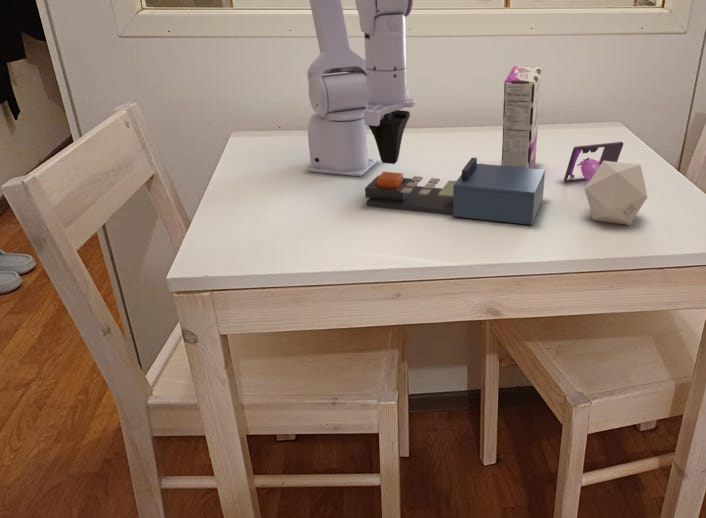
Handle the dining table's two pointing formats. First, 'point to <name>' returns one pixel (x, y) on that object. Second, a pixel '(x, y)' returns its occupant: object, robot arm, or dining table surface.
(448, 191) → the keypad
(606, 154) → the purple piece
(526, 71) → the candy bar box
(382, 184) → the on key
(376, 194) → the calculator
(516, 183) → the cover
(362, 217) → the dining table surface
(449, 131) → the dining table surface
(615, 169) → the die
